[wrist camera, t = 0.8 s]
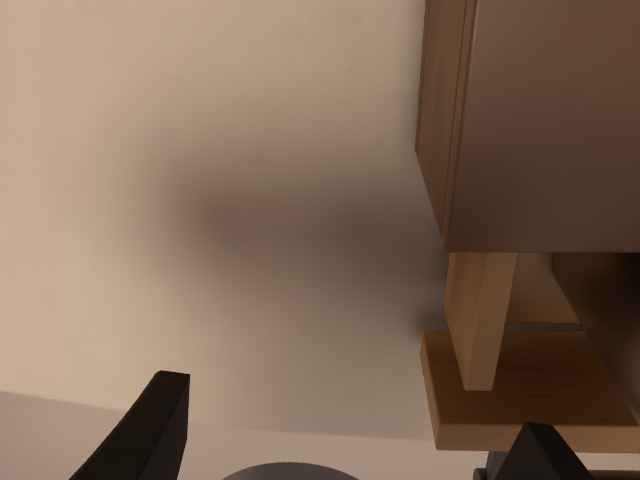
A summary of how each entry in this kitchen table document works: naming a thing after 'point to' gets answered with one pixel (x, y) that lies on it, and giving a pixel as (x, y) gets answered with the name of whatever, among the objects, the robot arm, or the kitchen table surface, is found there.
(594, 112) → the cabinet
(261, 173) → the kitchen table surface
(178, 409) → the robot arm
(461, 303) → the drawer
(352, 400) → the kitchen table surface
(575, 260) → the metal canister
